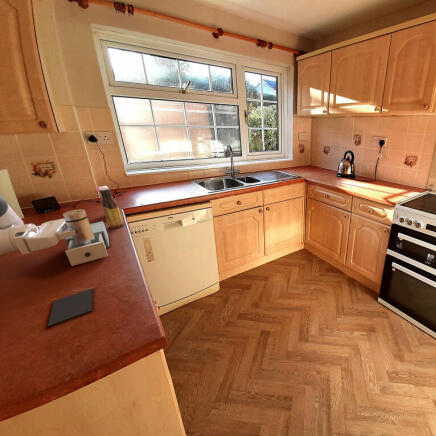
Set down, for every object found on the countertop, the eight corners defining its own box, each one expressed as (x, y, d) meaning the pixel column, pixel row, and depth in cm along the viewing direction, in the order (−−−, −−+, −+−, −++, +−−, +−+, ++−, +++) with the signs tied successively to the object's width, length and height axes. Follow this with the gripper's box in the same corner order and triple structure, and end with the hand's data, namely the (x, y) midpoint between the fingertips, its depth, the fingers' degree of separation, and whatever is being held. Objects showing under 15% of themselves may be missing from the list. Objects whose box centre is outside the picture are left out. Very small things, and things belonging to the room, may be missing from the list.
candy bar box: (106, 214, 142) (96, 186, 135) (116, 212, 145) (107, 185, 138) (107, 219, 134) (97, 190, 127) (118, 217, 136) (109, 188, 130)
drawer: (108, 257, 94) (103, 243, 91) (71, 267, 88) (64, 252, 85) (107, 244, 104) (102, 231, 102) (73, 252, 98) (68, 239, 96)
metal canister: (79, 258, 92) (61, 216, 85) (80, 251, 96) (63, 211, 90) (99, 252, 95) (84, 212, 89) (99, 246, 100) (84, 208, 93)
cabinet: (109, 247, 103) (103, 230, 100) (72, 256, 97) (65, 239, 94) (108, 236, 113) (103, 221, 110) (74, 244, 106) (68, 228, 104)
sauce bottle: (108, 226, 124) (95, 188, 117) (123, 223, 128) (111, 186, 120) (110, 230, 120) (96, 191, 112) (124, 226, 123) (112, 188, 116)
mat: (48, 327, 63) (47, 326, 63) (54, 302, 72) (53, 301, 72) (91, 311, 68) (91, 310, 68) (92, 289, 77) (91, 288, 77)
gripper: (42, 233, 95) (86, 225, 101) (21, 257, 79) (75, 246, 85) (35, 219, 93) (81, 211, 99) (12, 239, 76) (68, 229, 82)
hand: (78, 227), depth 92 cm, fingers open, 8 cm apart
